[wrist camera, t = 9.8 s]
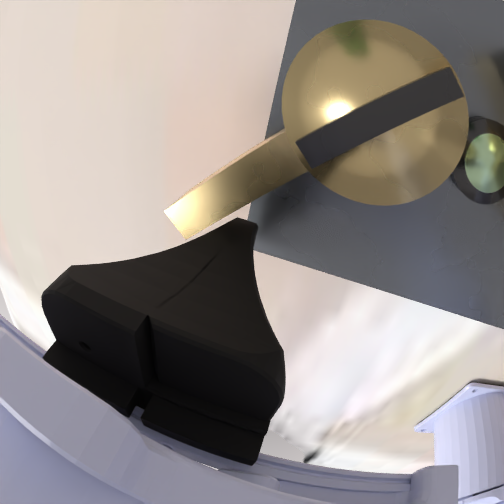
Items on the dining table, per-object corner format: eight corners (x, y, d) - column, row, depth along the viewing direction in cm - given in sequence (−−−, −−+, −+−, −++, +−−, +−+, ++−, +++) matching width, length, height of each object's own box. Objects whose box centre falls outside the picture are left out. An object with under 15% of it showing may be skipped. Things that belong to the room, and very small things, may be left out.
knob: (383, 22, 6) (409, -10, 3) (446, 137, 8) (497, 168, 5) (172, 153, 11) (113, 186, 8) (235, 239, 12) (200, 297, 9)
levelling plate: (599, 109, 4) (620, 118, 2) (505, 317, 12) (515, 340, 10) (316, -63, 6) (312, -84, 4) (249, 233, 14) (237, 255, 12)
